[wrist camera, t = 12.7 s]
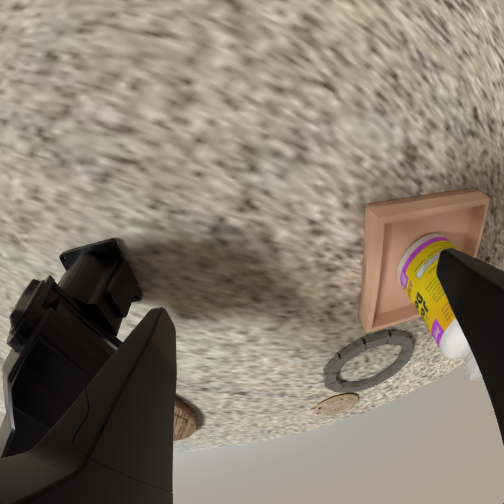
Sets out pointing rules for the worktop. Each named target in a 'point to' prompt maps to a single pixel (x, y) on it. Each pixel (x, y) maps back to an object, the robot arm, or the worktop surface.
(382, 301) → the tray
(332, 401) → the flatbread
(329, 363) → the seat ring
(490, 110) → the worktop surface
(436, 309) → the supplement bottle
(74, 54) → the worktop surface
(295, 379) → the worktop surface
